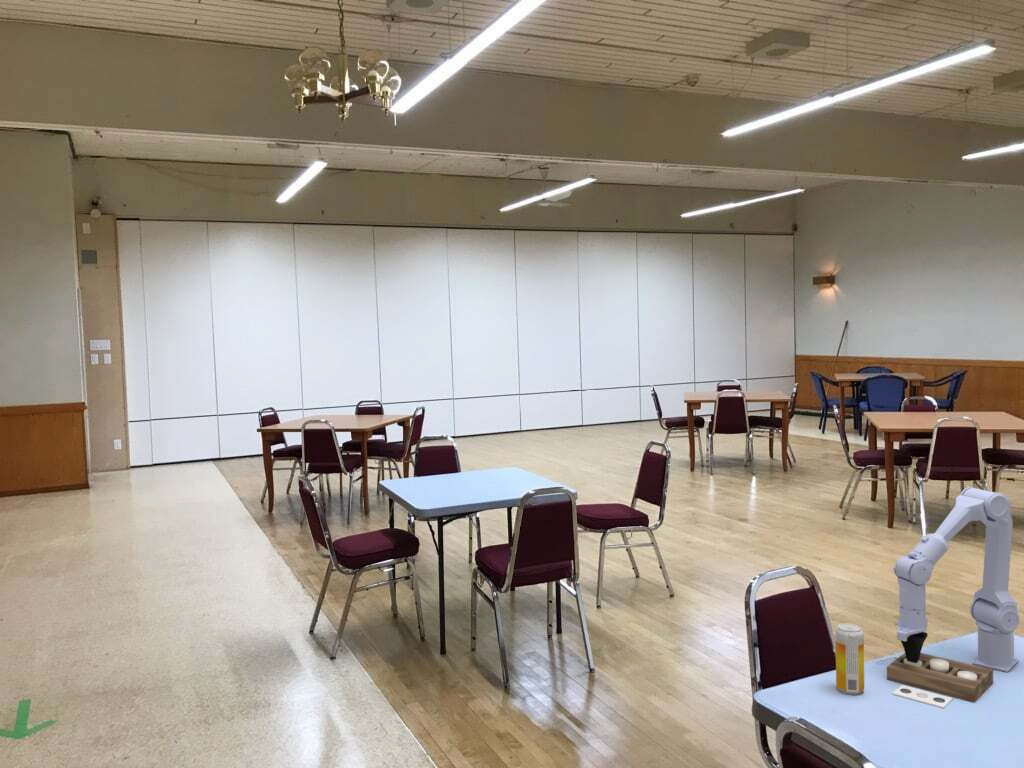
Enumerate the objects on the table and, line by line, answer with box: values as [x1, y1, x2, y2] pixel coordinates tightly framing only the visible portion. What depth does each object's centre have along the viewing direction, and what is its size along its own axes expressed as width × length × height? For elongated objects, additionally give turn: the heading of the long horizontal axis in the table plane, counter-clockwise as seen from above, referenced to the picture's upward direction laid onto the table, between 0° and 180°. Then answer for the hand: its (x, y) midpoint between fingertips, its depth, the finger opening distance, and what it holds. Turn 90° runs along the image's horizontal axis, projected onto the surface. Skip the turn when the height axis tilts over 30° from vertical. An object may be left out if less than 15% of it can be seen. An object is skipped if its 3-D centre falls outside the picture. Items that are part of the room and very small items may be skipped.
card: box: [891, 684, 954, 709], centre depth 184 cm, size 6×11×1 cm, turn 44°
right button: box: [957, 671, 977, 681], centre depth 188 cm, size 4×4×2 cm
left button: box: [904, 658, 922, 667], centre depth 196 cm, size 4×4×2 cm
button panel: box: [886, 652, 994, 703], centre depth 192 cm, size 14×19×3 cm
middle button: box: [930, 659, 949, 674], centre depth 192 cm, size 4×4×2 cm
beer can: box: [835, 622, 865, 696], centre depth 188 cm, size 6×6×15 cm
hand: (912, 662), depth 196 cm, fingers closed, pressing on left button
